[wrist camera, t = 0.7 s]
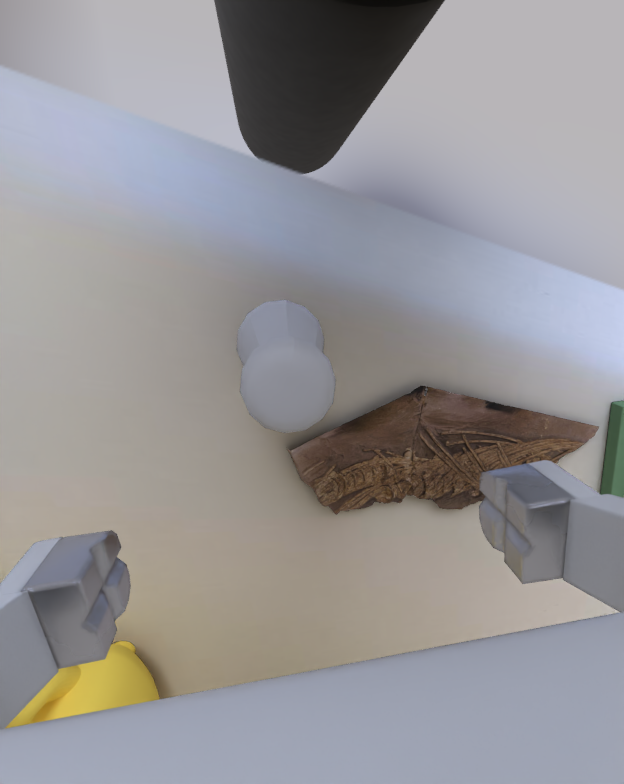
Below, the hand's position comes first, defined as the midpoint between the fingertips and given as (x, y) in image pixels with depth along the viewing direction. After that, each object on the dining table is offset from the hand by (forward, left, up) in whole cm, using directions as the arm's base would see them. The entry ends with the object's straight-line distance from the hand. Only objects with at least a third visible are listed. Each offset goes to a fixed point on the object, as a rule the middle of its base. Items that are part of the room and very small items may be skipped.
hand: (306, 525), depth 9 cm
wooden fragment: (+11, +13, -22) cm, 27 cm away
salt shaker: (0, 0, -22) cm, 22 cm away
